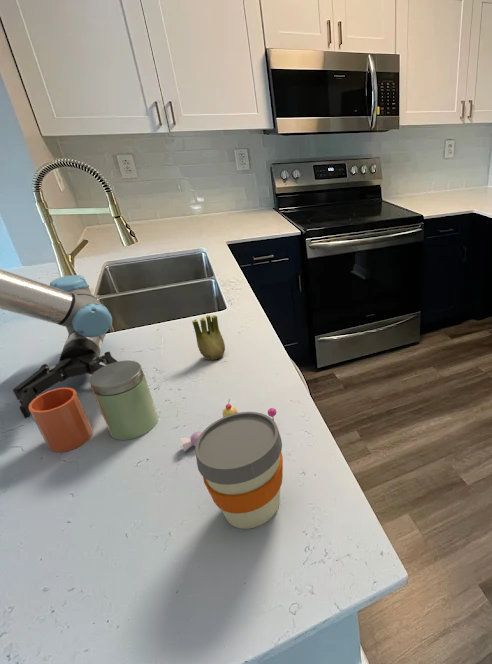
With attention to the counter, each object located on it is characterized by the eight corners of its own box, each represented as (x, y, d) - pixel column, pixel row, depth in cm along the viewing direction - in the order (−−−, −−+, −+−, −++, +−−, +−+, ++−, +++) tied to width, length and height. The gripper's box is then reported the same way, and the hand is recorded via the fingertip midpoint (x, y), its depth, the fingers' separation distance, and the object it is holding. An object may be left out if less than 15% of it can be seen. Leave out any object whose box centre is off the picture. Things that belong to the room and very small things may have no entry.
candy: (187, 462, 78) (180, 438, 76) (180, 437, 84) (173, 413, 82) (279, 426, 87) (276, 403, 84) (266, 405, 93) (263, 383, 90)
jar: (101, 429, 86) (80, 380, 81) (142, 405, 93) (126, 358, 87) (125, 446, 82) (105, 395, 76) (167, 419, 89) (151, 371, 83)
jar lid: (83, 386, 81) (79, 377, 80) (127, 363, 88) (125, 355, 87) (108, 401, 77) (104, 392, 76) (152, 376, 84) (150, 368, 83)
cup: (41, 443, 83) (21, 403, 78) (81, 421, 89) (64, 383, 84) (60, 457, 80) (39, 417, 75) (100, 434, 85) (83, 395, 81)
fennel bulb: (200, 362, 108) (189, 321, 103) (206, 351, 113) (197, 312, 107) (222, 361, 108) (213, 320, 103) (228, 351, 113) (219, 311, 107)
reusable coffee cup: (245, 466, 78) (231, 403, 70) (304, 487, 73) (295, 421, 66) (196, 524, 67) (173, 456, 60) (261, 551, 63) (245, 481, 56)
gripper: (143, 353, 108) (139, 400, 91) (25, 377, 99) (-4, 435, 82) (135, 327, 105) (129, 372, 88) (12, 350, 96) (-21, 405, 79)
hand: (65, 403), depth 85 cm, fingers open, 13 cm apart
